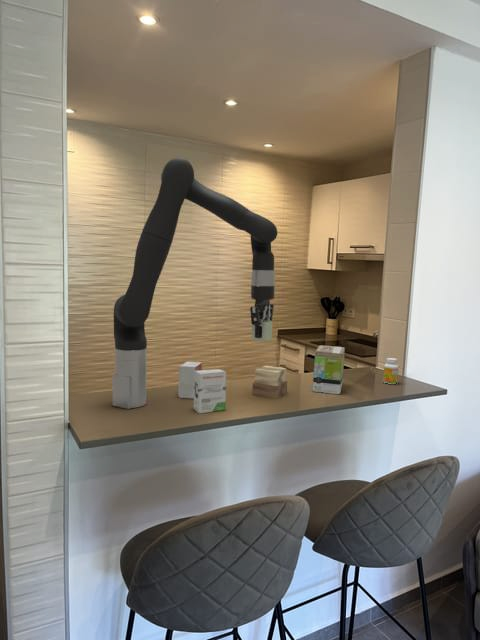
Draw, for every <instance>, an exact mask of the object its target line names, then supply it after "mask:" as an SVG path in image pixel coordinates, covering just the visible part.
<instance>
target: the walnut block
mask: <svg viewBox="0 0 480 640" xmlns="http://www.w3.org/2000/svg"><path fill="white" fill-rule="evenodd" d="M287 393H288V381H287V380H286V381H285V382H283V383H282V384H280V385H278V386H272V385H266V384H260V383H255V381H254V382H252V395H251V396H255V395H256V397H261V396H262V397H261V398H268V399H274V400H278V399H279V398H281V397H283V396H284V395H286V394H287Z"/></svg>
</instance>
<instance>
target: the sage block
mask: <svg viewBox="0 0 480 640" xmlns="http://www.w3.org/2000/svg"><path fill="white" fill-rule="evenodd" d="M261 327H262V337H261V338H256V337H255V326H254V325H252V324H251V340H252V341H261V342H262V341H264V342H267V341H270V340H272V339H273V320H272V321H267V320H263V322H262V326H261Z"/></svg>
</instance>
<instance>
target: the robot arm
mask: <svg viewBox="0 0 480 640" xmlns="http://www.w3.org/2000/svg"><path fill="white" fill-rule="evenodd" d="M163 167H164V168H163V169H162V172H161V175H160V180H161V183H160V187H159V192H158V195H157V198H156V201H155V203H154V205H153V207H152V209H151V211H150V213H149V215H148V217H147V219H146V221H145V223H144V224H143V225H144V226H143V228H142V231H141V234H140V236H139V239H138V242H137V244H136V245H137V246H136V250H135V255H134V262H133V264H134V265H133V270H132V271H133V272H132V276H131V279H130V282H129V285H128V286H127V287H128V288H127V290H126V291H125V294H123V295H120V296H119V298H117V300H116V301H115V303H114V305H113V339H114V374H113V375H112V406H113V407H118V408H122V409H127V410H129V409H134V408H141V407H143V406H145V405H146V404H147V356H148V355H147V352H148V351H147V349H148V348H147V346H148V344H147V342H148V340H147V336H146V331H145V323H146V321H147V320H148V318H149V317H150V316H149V315H150V312H151V307H152V302H153V299H154V294H155V291H156V287H157V284H158V281H159V279H160V277H161V273H162V271H163V268H164V266H165V263H166V260H167V259H168V256H169V253H170V249H171V247H172V243H173V241H174V237H175V234H176V229H177V226H178V221H179V216H180V212H181V210H182V206H183V204H184V201H185V200H187V201H190V202H192V203H194V204H195V205H198V206H200V207H201V208H202V209H204V210H207V211H208V212H210V213H211V214H213V215H215V216H216V217H217V218H220V220H222V221H224V222H225V223H227V224H228V225H230V226H232V227H233V228H235V229H237V230H239V231H244V232H246V233H247V234H249V235H250V246H251V253H252V262H251V263H252V265H251V266H252V268H251V279H250V282H251V283H250V298H251V299H252V300H255V302H254V306H250V309H249V310H250V321H251V326H252V325H254V326H255V337H256V338H261V337H262V327H261V326H262V322H263V320H267V321H272V322H273V315H274V307H275V306H274V304H273V303H271V302H270V301H271V300H274V299H275V281H276V280H275V279H276V277H275V254H274V253H273V252H272V242H274V241H275V240H276V239H277V237H278V228H277V226H276V224H275V223H274V222H273V221H271V220H269V219H268V218H266V217H264V216H262V215H260V214H258V213H255V212H254V211H251V210H250V209H248V208H247V207H246V206H244V205H243V204H241V203H239V202H238V201H236V200H235V199H234V198H231V197H229V196H227V195H225V194H222V193H220V192H218V191H215V190H213V189H210V188H209V187H207V186H205V185H204V184H202V183H201V182H200V181H198V180H197V179H196V178H195V170H194V167H193V166H192V164H191V162H190V161H189V160H188V159H186V158H184V157H174V158H172V159H170V160H168V161H167V163H166V164H164V166H163Z"/></svg>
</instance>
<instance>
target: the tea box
mask: <svg viewBox="0 0 480 640" xmlns="http://www.w3.org/2000/svg"><path fill="white" fill-rule="evenodd" d="M345 350H346V347H342V346H332V345H322V344H321V345H318V346H317V348H316V350H315V352H314V363H313V364H314V365H313V378H312V389H311V390H312V392H316V393H322V392H323V393H325V394H333V395H340V394H341V390H342V387H343V379H344V365H345V352H346V351H345Z"/></svg>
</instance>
